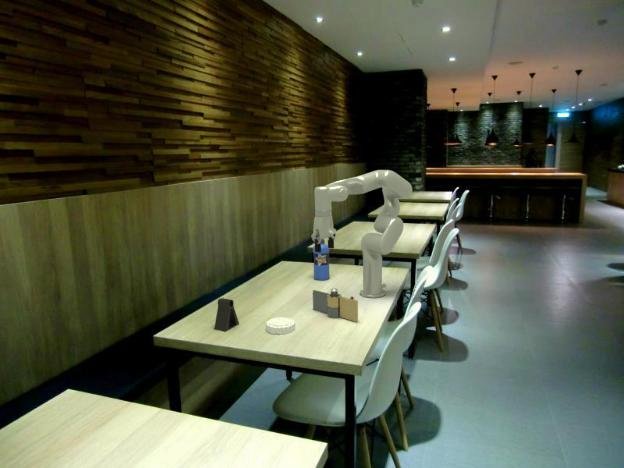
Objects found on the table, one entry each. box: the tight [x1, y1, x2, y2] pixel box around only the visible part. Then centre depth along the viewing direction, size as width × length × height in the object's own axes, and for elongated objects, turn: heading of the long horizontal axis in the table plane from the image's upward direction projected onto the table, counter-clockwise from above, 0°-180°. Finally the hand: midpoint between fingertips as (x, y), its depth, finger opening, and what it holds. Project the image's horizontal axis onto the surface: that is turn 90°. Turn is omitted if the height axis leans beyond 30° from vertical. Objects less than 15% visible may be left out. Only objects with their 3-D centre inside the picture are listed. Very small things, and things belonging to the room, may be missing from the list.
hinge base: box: [312, 289, 341, 319], centre depth 196 cm, size 6×16×9 cm, turn 47°
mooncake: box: [265, 316, 296, 335], centre depth 179 cm, size 12×12×4 cm
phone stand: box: [213, 297, 240, 332], centre depth 182 cm, size 9×6×12 cm, turn 151°
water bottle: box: [312, 239, 330, 282], centre depth 252 cm, size 9×9×25 cm
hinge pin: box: [330, 287, 339, 297], centre depth 193 cm, size 3×3×12 cm
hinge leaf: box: [327, 293, 359, 323], centre depth 190 cm, size 6×16×9 cm, turn 47°
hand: (324, 250), depth 204 cm, fingers open, 9 cm apart
